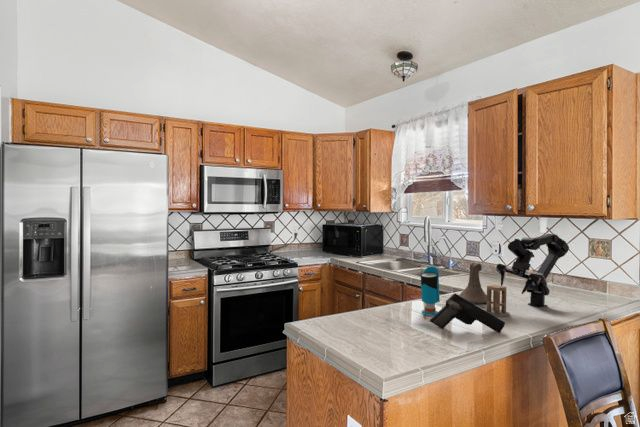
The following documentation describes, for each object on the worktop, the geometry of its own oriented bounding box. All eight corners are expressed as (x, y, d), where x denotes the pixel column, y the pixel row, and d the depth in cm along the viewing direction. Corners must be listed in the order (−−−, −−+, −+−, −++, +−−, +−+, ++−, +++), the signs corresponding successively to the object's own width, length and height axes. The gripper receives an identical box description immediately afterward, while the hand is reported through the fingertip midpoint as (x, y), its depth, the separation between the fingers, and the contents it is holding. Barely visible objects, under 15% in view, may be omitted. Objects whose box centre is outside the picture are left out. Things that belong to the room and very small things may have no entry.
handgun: (485, 355, 146) (506, 323, 144) (430, 321, 150) (449, 290, 149) (484, 352, 149) (504, 321, 147) (429, 320, 153) (448, 289, 151)
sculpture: (497, 301, 194) (498, 263, 194) (478, 306, 184) (479, 266, 184) (468, 295, 208) (469, 259, 207) (449, 299, 198) (450, 261, 198)
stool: (494, 309, 176) (495, 284, 176) (505, 312, 171) (506, 286, 170) (486, 311, 173) (487, 285, 173) (497, 314, 168) (498, 288, 168)
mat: (494, 309, 179) (494, 307, 179) (515, 315, 169) (515, 313, 169) (478, 311, 175) (478, 310, 175) (498, 318, 165) (498, 316, 165)
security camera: (416, 267, 170) (427, 265, 178) (416, 313, 171) (426, 309, 178) (434, 269, 165) (444, 267, 172) (433, 317, 165) (443, 312, 172)
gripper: (501, 248, 179) (489, 277, 175) (544, 261, 168) (533, 292, 164) (502, 257, 188) (491, 284, 184) (544, 270, 177) (533, 299, 173)
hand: (511, 290), depth 176 cm, fingers open, 9 cm apart
